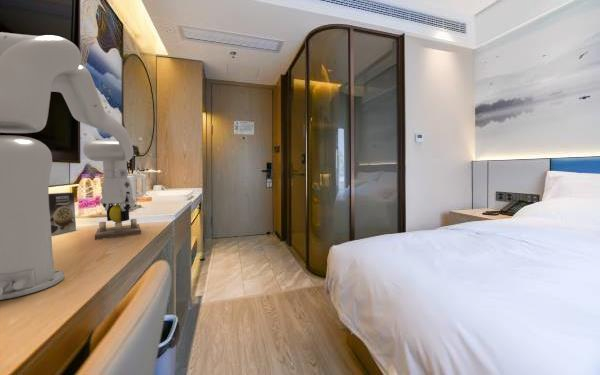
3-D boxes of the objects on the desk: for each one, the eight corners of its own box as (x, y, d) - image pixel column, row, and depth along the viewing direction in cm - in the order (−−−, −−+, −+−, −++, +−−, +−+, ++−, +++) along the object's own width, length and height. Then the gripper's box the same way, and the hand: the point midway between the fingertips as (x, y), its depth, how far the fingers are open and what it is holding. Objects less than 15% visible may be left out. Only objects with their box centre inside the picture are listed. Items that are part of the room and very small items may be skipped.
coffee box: (51, 236, 97) (48, 194, 96) (38, 235, 98) (35, 194, 97) (77, 230, 106) (74, 192, 105) (65, 230, 107) (62, 192, 106)
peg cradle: (140, 233, 98) (140, 221, 98) (94, 239, 90) (94, 226, 90) (139, 227, 110) (138, 216, 110) (98, 232, 102) (97, 220, 101)
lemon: (125, 221, 104) (124, 202, 103) (128, 223, 100) (127, 203, 99) (109, 223, 100) (107, 203, 100) (110, 225, 96) (109, 205, 95)
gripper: (142, 174, 101) (144, 219, 102) (105, 174, 104) (108, 218, 105) (126, 174, 93) (129, 223, 95) (87, 175, 96) (90, 221, 98)
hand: (118, 220), depth 100 cm, fingers closed on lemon, 5 cm apart
